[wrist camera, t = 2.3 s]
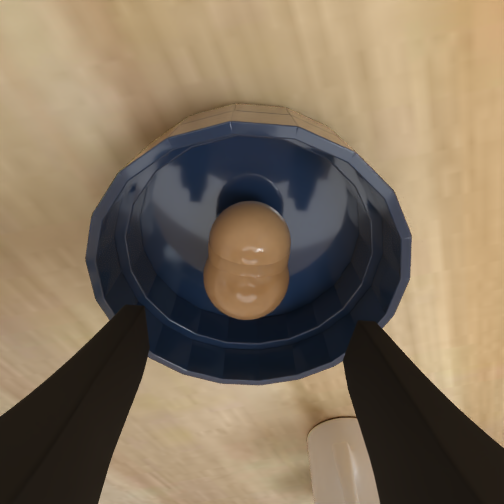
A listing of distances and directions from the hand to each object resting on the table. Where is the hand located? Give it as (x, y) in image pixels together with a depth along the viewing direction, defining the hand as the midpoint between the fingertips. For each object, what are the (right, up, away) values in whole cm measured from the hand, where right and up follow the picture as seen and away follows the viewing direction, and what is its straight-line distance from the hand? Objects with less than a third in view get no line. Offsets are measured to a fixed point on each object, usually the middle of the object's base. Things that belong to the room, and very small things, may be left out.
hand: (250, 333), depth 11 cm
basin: (0, +4, +6) cm, 7 cm away
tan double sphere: (0, +3, +5) cm, 6 cm away
